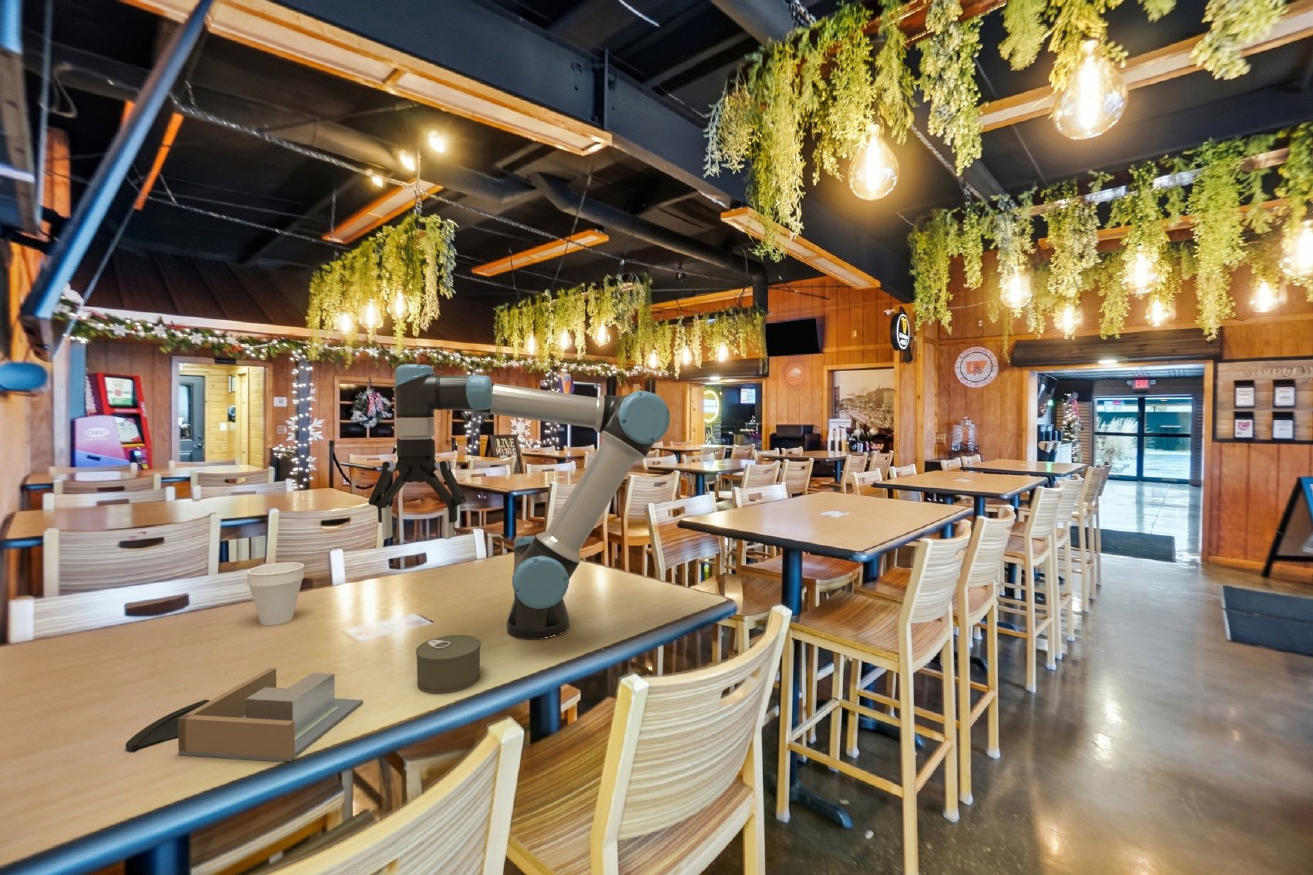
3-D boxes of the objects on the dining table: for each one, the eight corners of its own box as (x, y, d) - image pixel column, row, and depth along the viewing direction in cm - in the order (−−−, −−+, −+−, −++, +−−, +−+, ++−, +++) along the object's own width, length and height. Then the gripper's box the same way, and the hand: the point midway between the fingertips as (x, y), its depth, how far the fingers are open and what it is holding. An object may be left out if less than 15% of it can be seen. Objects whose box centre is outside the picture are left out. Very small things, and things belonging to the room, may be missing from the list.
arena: (362, 703, 102) (362, 672, 102) (288, 762, 84) (288, 725, 84) (270, 698, 104) (270, 668, 104) (178, 755, 86) (178, 718, 86)
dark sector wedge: (108, 747, 89) (108, 737, 89) (205, 707, 102) (204, 698, 102) (138, 759, 86) (138, 748, 86) (234, 716, 98) (234, 707, 98)
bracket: (292, 739, 89) (292, 701, 89) (246, 736, 90) (245, 699, 90) (334, 707, 99) (334, 673, 99) (292, 705, 100) (291, 671, 100)
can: (444, 701, 104) (444, 663, 103) (402, 685, 110) (402, 650, 109) (493, 676, 114) (493, 642, 114) (453, 663, 120) (453, 631, 120)
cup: (235, 625, 141) (234, 571, 141) (284, 610, 153) (283, 560, 153) (268, 632, 137) (267, 576, 137) (316, 616, 148) (315, 564, 148)
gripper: (479, 437, 123) (482, 534, 124) (369, 438, 125) (372, 534, 125) (465, 438, 116) (468, 541, 116) (348, 439, 117) (351, 541, 118)
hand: (418, 538), depth 121 cm, fingers open, 13 cm apart
